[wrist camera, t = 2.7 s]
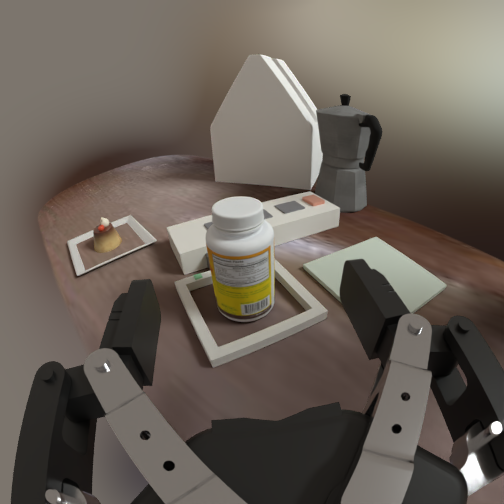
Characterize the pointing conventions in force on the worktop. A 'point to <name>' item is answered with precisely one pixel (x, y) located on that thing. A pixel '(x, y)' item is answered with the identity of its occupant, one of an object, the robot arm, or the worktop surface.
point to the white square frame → (259, 339)
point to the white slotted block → (266, 129)
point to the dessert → (107, 241)
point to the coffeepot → (346, 154)
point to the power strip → (275, 212)
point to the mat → (387, 263)
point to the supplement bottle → (241, 259)
